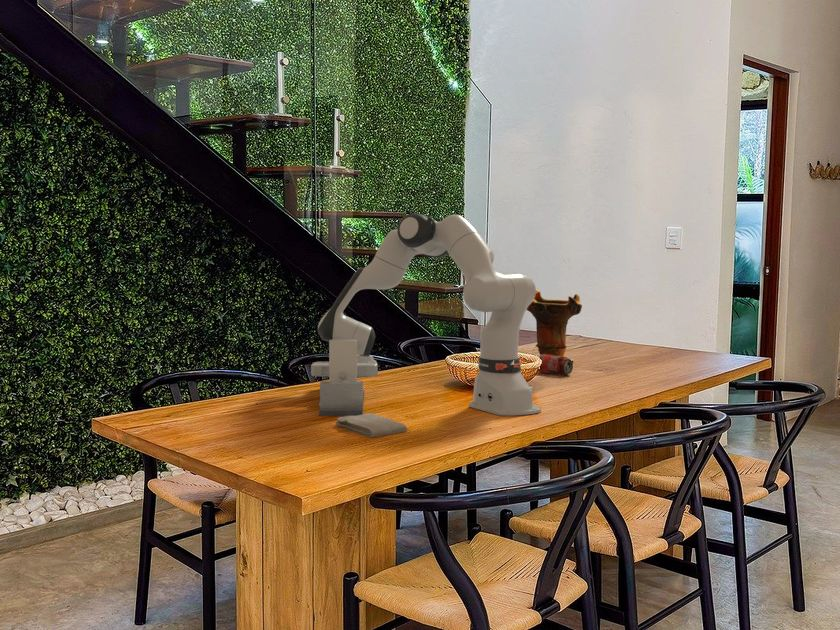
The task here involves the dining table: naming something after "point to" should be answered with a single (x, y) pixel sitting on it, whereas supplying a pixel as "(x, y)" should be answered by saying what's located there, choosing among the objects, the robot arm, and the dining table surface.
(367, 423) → the washcloth
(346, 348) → the upright white panel
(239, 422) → the dining table surface
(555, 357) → the beverage can
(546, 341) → the decorative vase
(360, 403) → the base
